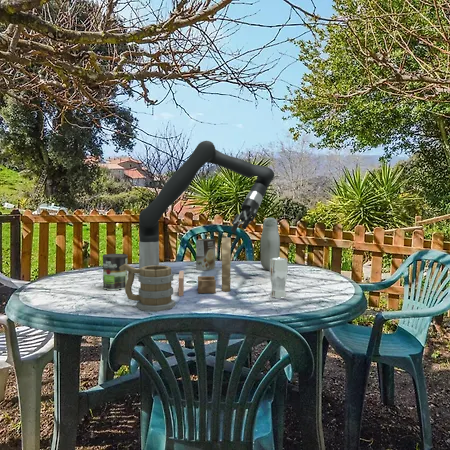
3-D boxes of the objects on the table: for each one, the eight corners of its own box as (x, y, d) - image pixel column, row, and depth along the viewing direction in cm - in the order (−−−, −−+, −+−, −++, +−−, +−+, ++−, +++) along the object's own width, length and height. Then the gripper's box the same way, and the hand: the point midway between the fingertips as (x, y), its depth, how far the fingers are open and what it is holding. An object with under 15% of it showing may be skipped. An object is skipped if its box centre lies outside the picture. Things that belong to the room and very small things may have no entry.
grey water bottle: (259, 268, 229) (260, 216, 227) (278, 268, 229) (279, 217, 227) (260, 271, 220) (261, 217, 218) (280, 271, 219) (281, 218, 217)
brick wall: (178, 295, 166) (178, 278, 165) (179, 287, 182) (179, 271, 181) (183, 295, 166) (183, 278, 165) (183, 287, 182) (183, 270, 181)
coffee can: (118, 291, 173) (118, 257, 172) (97, 289, 176) (97, 256, 175) (132, 286, 182) (132, 254, 181) (112, 284, 186) (112, 253, 185)
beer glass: (275, 299, 160) (276, 260, 159) (265, 295, 167) (266, 258, 165) (290, 297, 164) (291, 259, 163) (280, 293, 170) (281, 257, 169)
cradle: (198, 293, 170) (198, 280, 170) (197, 288, 179) (197, 276, 178) (215, 292, 170) (215, 280, 170) (214, 287, 179) (214, 276, 179)
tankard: (178, 303, 155) (178, 262, 154) (166, 312, 143) (166, 268, 141) (128, 299, 159) (128, 260, 158) (112, 308, 147) (111, 265, 146)
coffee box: (205, 270, 221) (205, 240, 220) (195, 269, 225) (195, 239, 224) (215, 268, 228) (215, 239, 227) (206, 267, 232) (206, 238, 231)
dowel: (222, 291, 173) (222, 238, 172) (221, 289, 177) (221, 237, 175) (230, 291, 174) (231, 238, 172) (229, 289, 177) (230, 237, 176)
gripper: (237, 201, 202) (223, 227, 194) (255, 194, 190) (241, 221, 183) (248, 211, 205) (234, 237, 197) (267, 204, 193) (253, 232, 185)
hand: (237, 230), depth 190 cm, fingers open, 8 cm apart
